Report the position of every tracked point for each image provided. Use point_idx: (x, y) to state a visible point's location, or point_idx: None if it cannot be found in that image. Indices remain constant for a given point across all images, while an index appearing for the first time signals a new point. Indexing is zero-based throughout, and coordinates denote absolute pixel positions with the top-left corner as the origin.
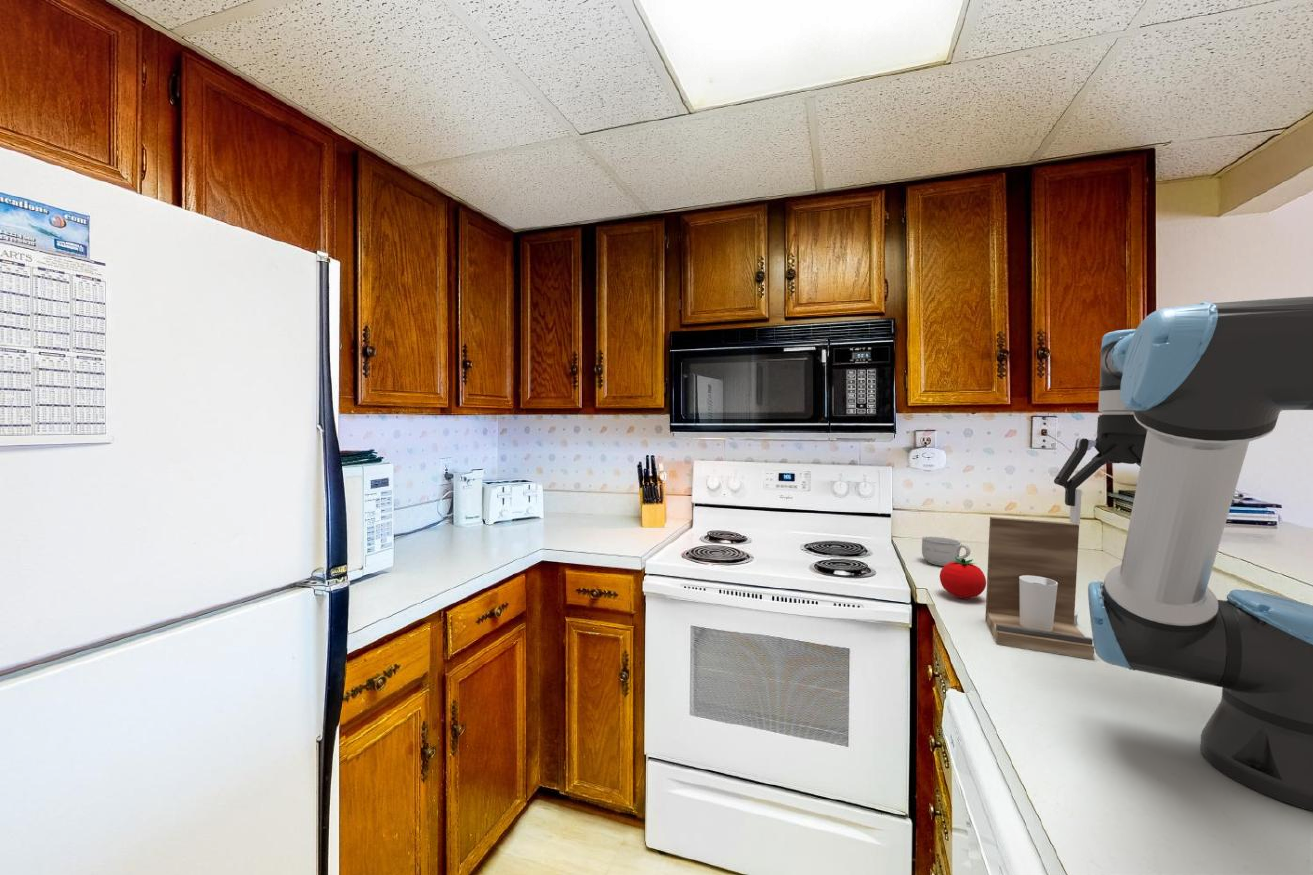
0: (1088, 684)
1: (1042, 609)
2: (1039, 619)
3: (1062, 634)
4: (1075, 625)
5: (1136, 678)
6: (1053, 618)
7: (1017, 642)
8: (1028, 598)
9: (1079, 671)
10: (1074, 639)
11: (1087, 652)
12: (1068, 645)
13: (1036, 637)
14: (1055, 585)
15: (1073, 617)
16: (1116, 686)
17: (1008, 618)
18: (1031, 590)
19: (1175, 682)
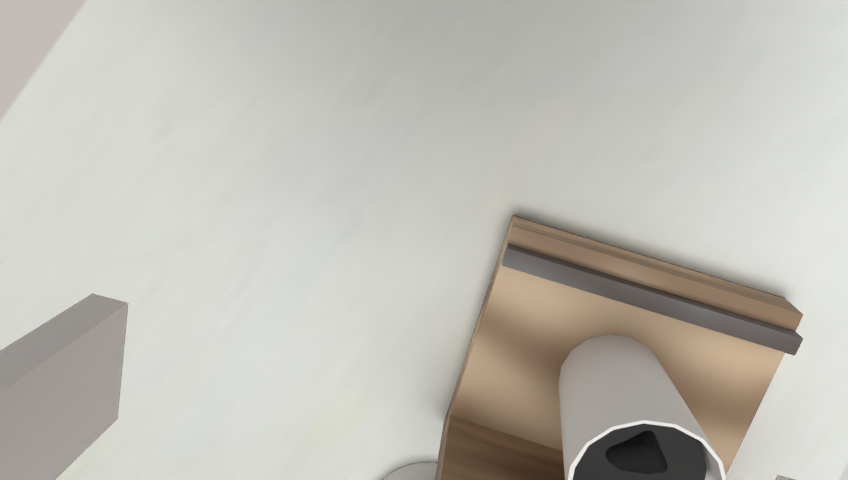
0: (663, 21)
1: (642, 371)
2: (640, 356)
3: (590, 283)
4: (391, 473)
5: (466, 92)
6: (577, 368)
7: (730, 286)
8: (692, 416)
9: (626, 117)
10: (559, 261)
11: (529, 226)
12: (585, 245)
13: (677, 283)
14: (606, 428)
15: (450, 429)
16: (576, 21)
17: None
18: (699, 428)
19: (360, 81)
